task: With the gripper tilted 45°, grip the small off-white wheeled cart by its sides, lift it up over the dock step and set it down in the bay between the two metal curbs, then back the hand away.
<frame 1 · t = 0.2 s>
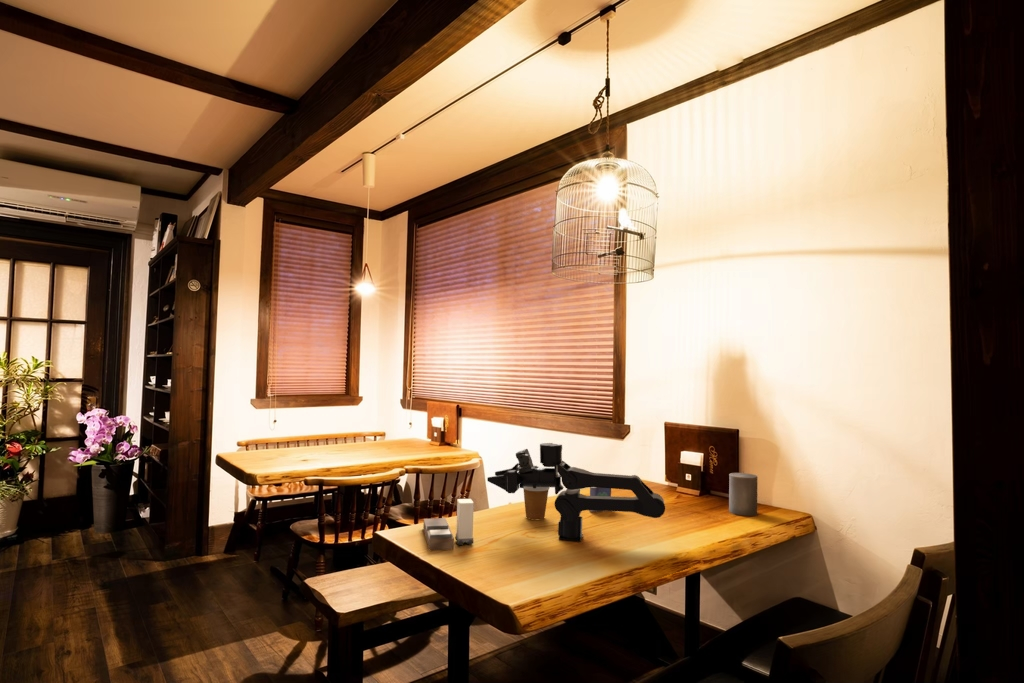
hand: (491, 476, 179), 17 cm above the table, tool horizontal, fingers open, 9 cm apart
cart: (464, 542, 165), on the table
pillar candle: (742, 513, 208), on the table
flask: (599, 511, 205), on the table
disposable coffee cup: (535, 518, 194), on the table
dock: (439, 544, 164), on the table
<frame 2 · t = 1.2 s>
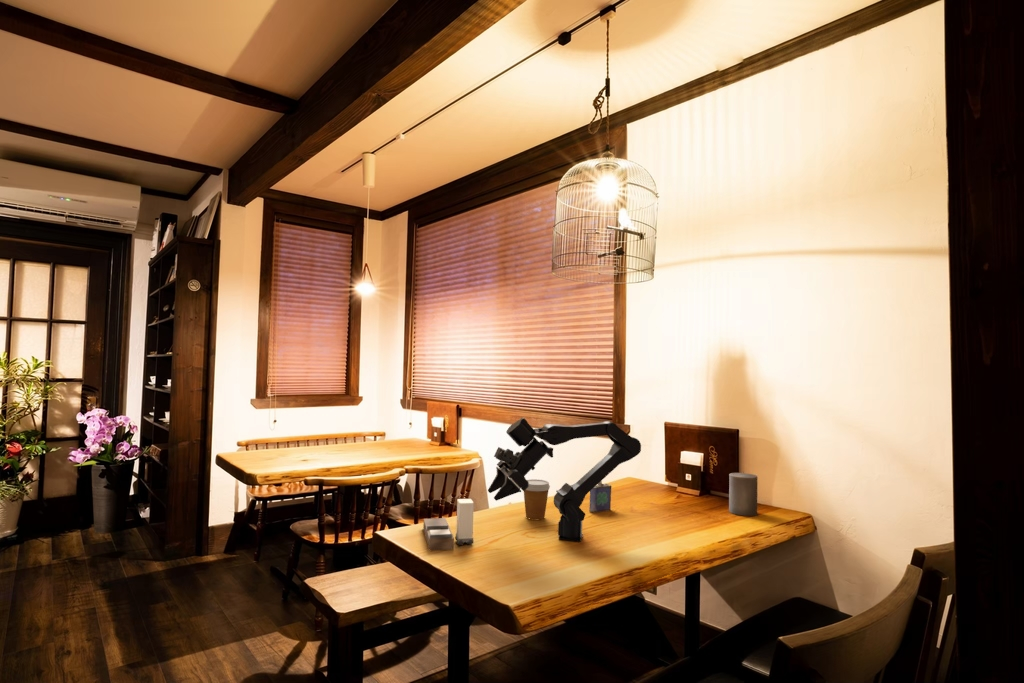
hand: (491, 495, 167), 13 cm above the table, tool tilted 45°, fingers open, 9 cm apart
nothing on the table moved.
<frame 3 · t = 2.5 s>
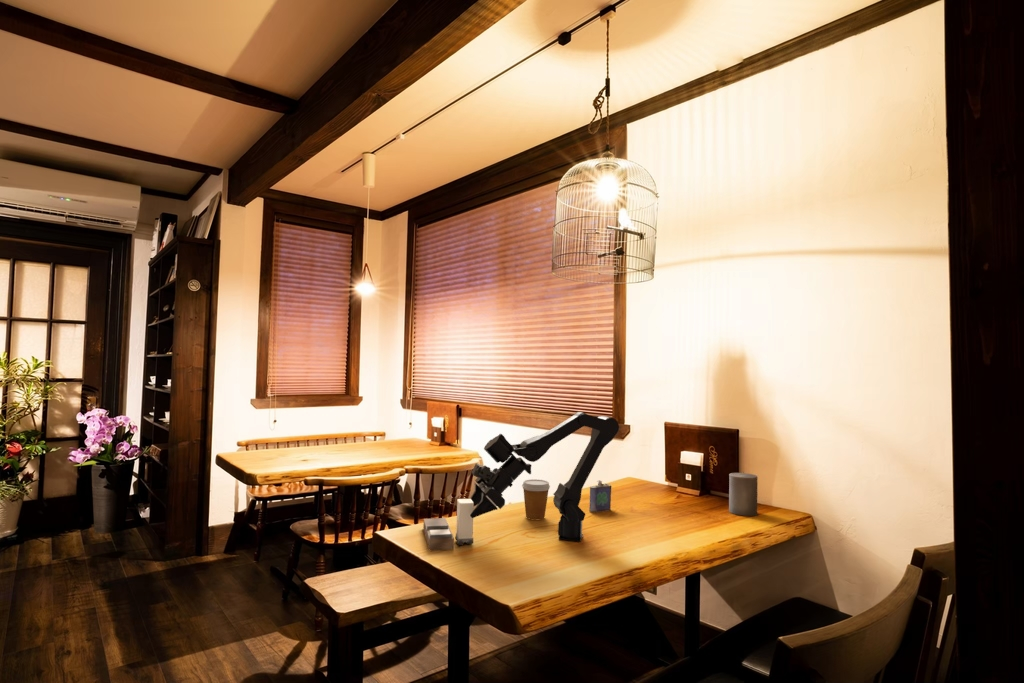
hand: (468, 512, 166), 9 cm above the table, tool tilted 45°, fingers open, 9 cm apart
nothing on the table moved.
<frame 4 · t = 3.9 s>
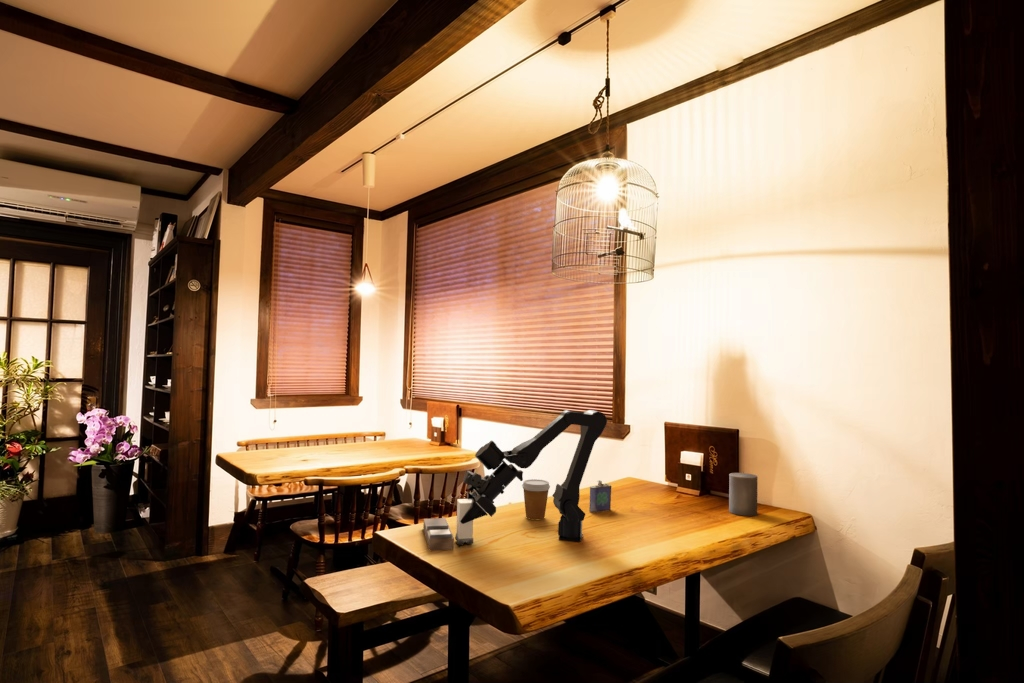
hand: (460, 520, 165), 7 cm above the table, tool tilted 45°, fingers closed on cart, 5 cm apart
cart: (464, 542, 165), on the table, touching gripper
everything else where it was.
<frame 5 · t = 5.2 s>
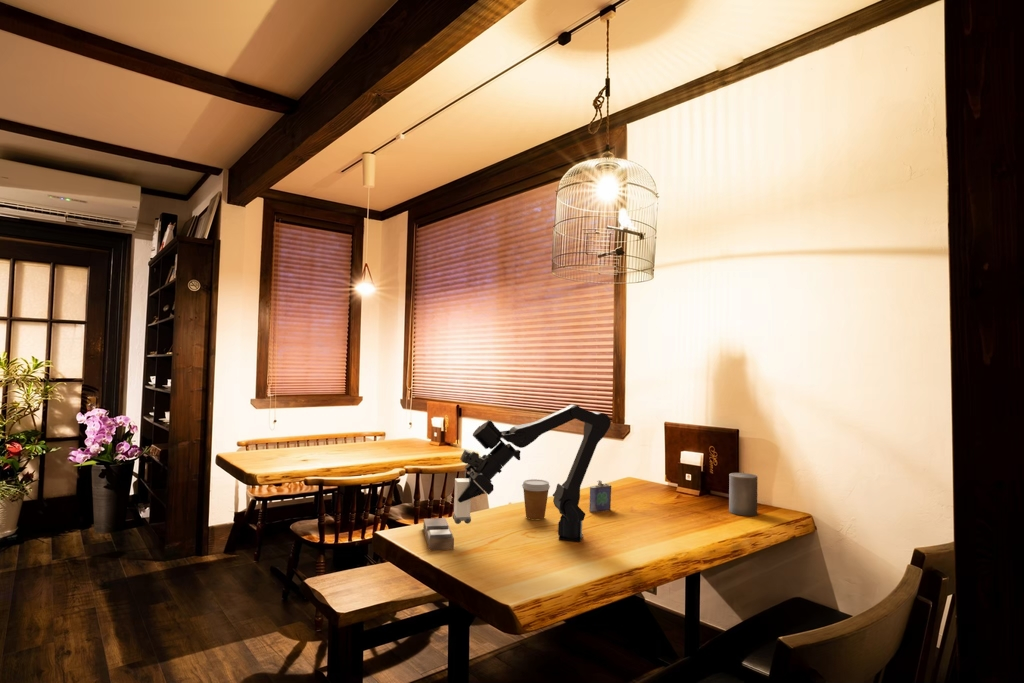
hand: (457, 499, 165), 13 cm above the table, tool tilted 45°, fingers closed on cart, 5 cm apart
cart: (461, 521, 165), point 6 cm above the table, touching gripper
everything else where it was.
when the fingers open (10 cm above the table, at t = 6.5 s): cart stays where it is, resting on dock.
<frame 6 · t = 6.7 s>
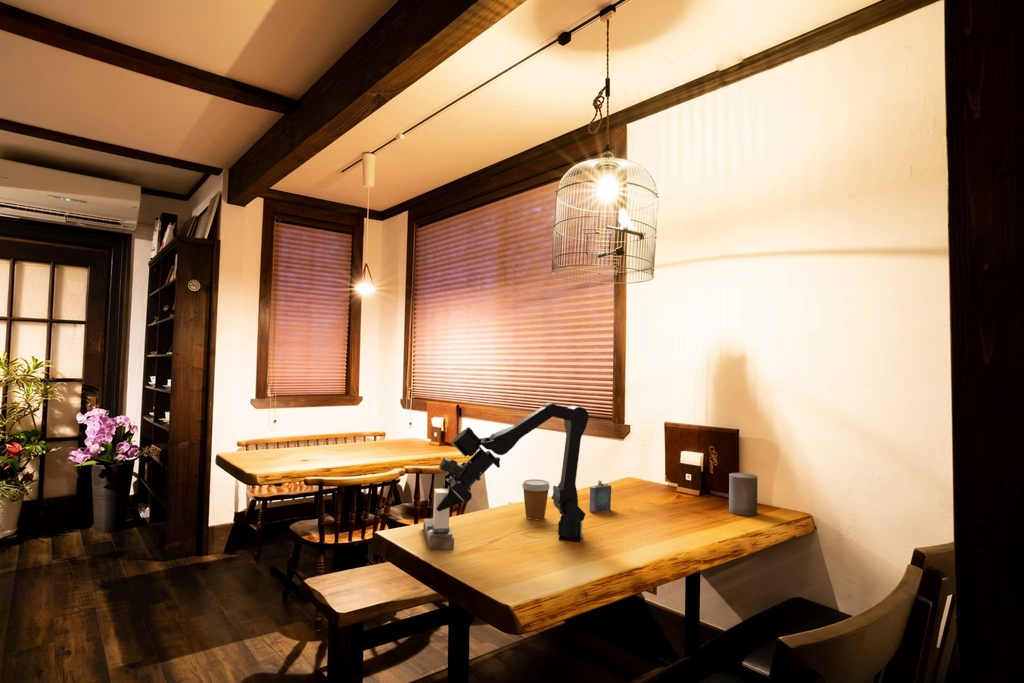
hand: (436, 507, 164), 11 cm above the table, tool tilted 45°, fingers open, 7 cm apart
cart: (440, 532, 164), point 3 cm above the table, touching dock
everything else where it was.
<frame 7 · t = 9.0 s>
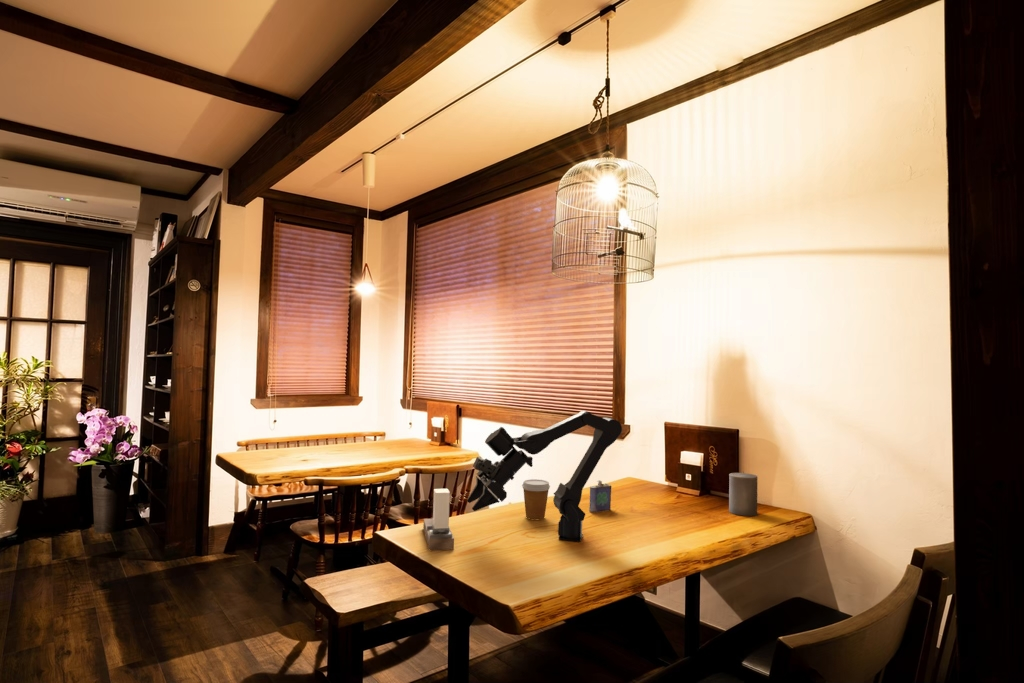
hand: (470, 505, 166), 11 cm above the table, tool tilted 45°, fingers open, 9 cm apart
nothing on the table moved.
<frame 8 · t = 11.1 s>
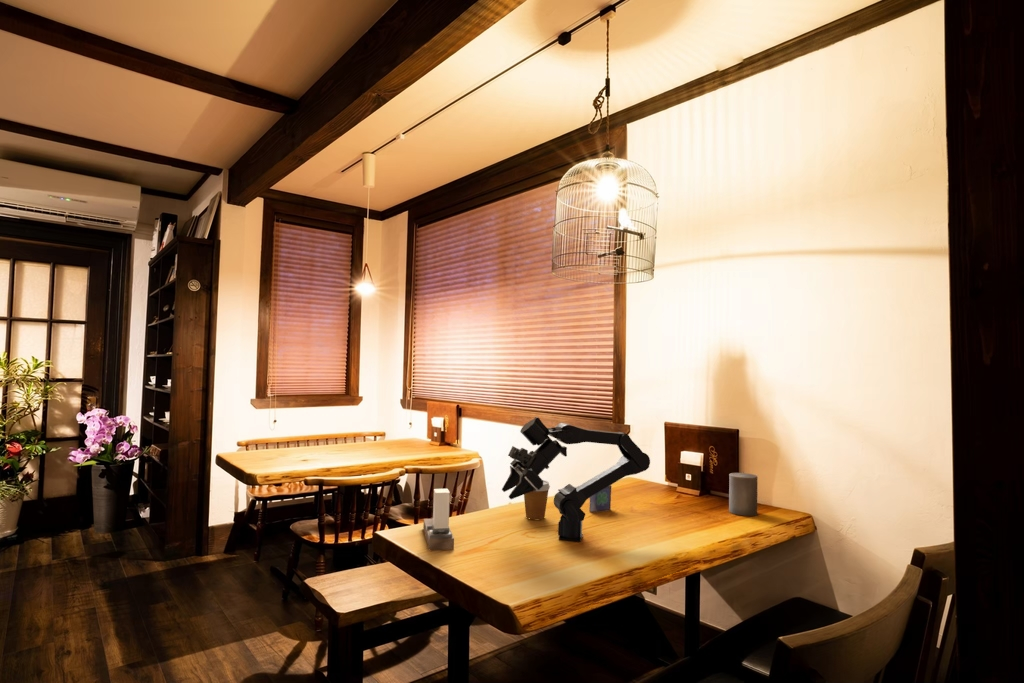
hand: (506, 494, 168), 14 cm above the table, tool tilted 45°, fingers open, 9 cm apart
nothing on the table moved.
at the end: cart 0.0 cm from the dock (horizontally); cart point 3.1 cm above the table; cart tilted 0° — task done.
